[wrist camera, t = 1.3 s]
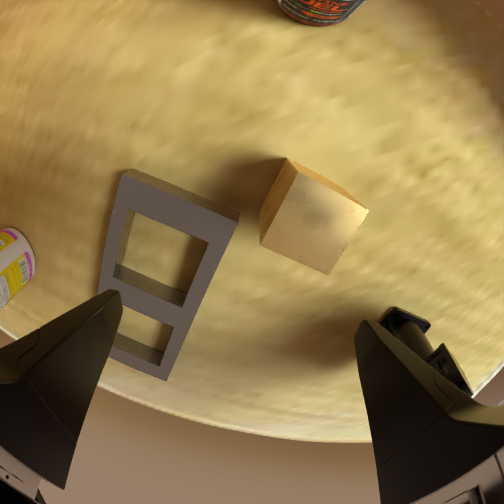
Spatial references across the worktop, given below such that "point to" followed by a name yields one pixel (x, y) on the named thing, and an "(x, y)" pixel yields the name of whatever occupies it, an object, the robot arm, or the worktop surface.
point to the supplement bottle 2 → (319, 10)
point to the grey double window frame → (146, 289)
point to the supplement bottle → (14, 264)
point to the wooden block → (308, 217)
